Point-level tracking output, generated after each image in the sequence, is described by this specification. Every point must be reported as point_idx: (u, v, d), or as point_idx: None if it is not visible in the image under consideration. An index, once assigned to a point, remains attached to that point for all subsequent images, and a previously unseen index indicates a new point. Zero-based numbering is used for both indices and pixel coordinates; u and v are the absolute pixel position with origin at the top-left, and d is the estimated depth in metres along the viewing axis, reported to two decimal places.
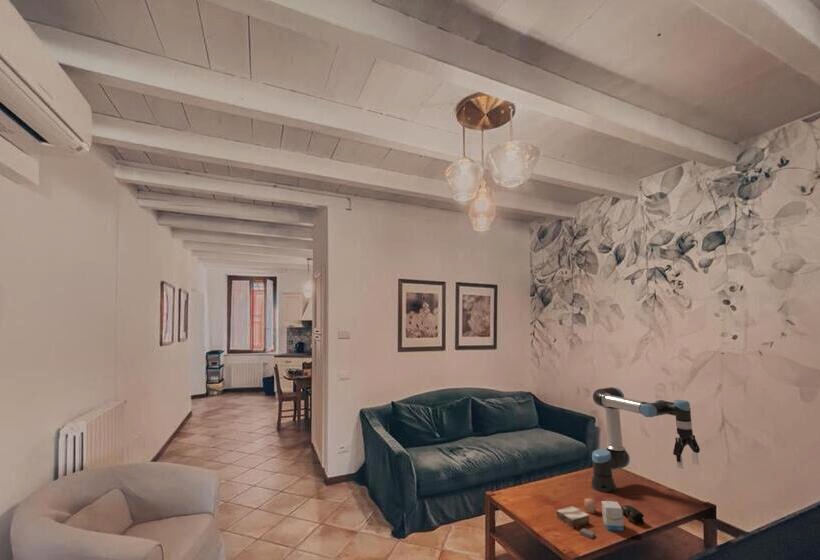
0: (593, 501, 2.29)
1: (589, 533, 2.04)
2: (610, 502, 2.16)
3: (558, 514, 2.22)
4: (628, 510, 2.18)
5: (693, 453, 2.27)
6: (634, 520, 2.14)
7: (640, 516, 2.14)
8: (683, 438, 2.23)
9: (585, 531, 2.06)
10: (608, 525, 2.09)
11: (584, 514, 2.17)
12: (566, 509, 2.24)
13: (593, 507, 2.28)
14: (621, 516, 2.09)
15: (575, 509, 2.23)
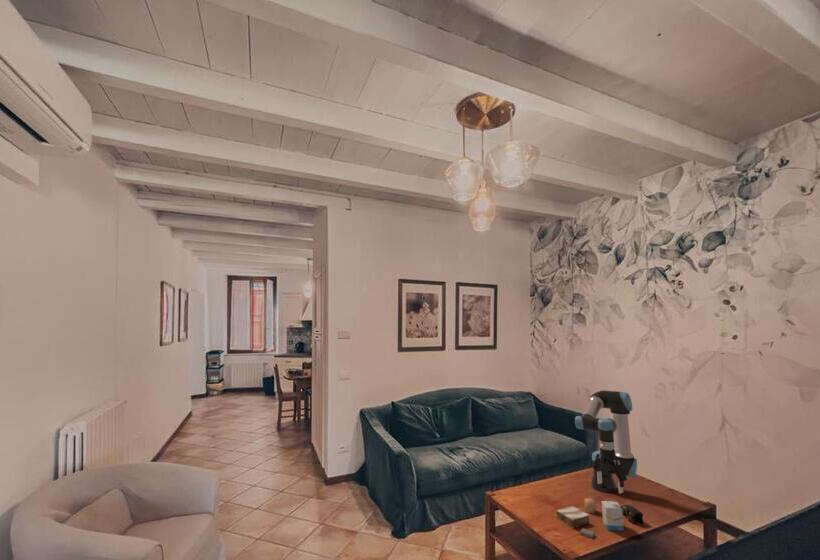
0: (593, 501, 2.29)
1: (589, 533, 2.04)
2: (610, 502, 2.16)
3: (558, 514, 2.22)
4: (627, 509, 2.19)
5: None
6: (633, 519, 2.15)
7: (639, 516, 2.15)
8: (601, 456, 2.19)
9: (585, 531, 2.05)
10: (608, 525, 2.09)
11: (584, 514, 2.17)
12: (566, 509, 2.24)
13: (593, 507, 2.28)
14: (621, 516, 2.09)
15: (575, 509, 2.23)
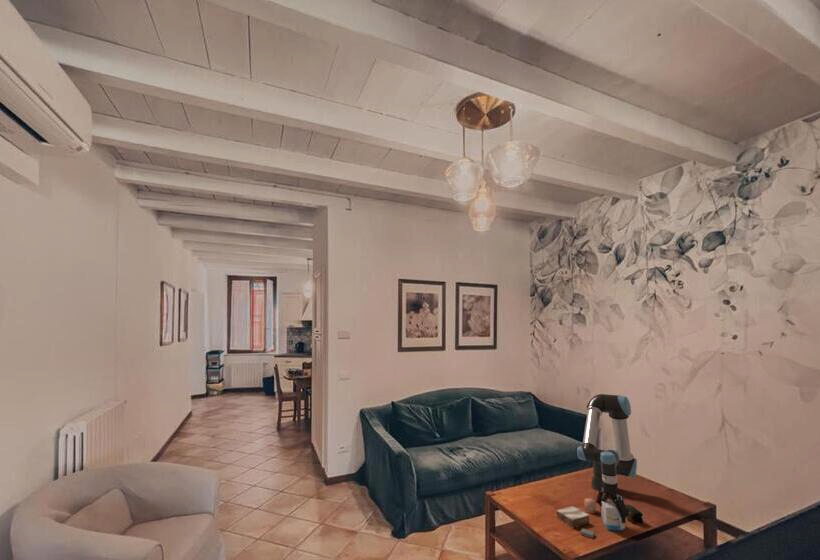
0: (593, 501, 2.29)
1: (590, 533, 2.04)
2: (610, 502, 2.16)
3: (558, 514, 2.22)
4: (627, 509, 2.19)
5: None
6: (633, 519, 2.15)
7: (639, 515, 2.15)
8: (604, 489, 2.17)
9: (585, 531, 2.05)
10: (608, 525, 2.09)
11: (584, 514, 2.17)
12: (566, 509, 2.24)
13: (593, 507, 2.28)
14: None
15: (575, 509, 2.23)
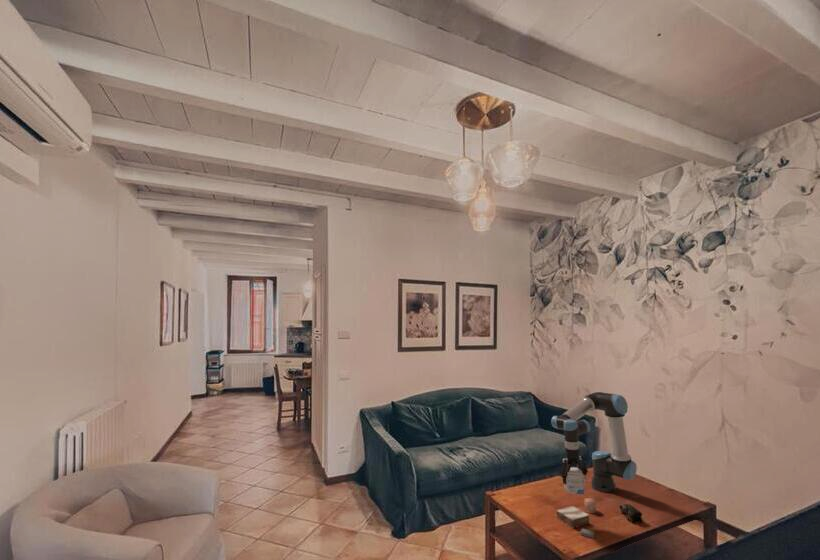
0: (593, 501, 2.29)
1: (590, 533, 2.04)
2: None
3: (558, 514, 2.22)
4: (627, 509, 2.20)
5: None
6: (632, 519, 2.15)
7: (638, 515, 2.15)
8: (569, 459, 2.20)
9: (585, 531, 2.05)
10: (583, 489, 2.16)
11: (584, 514, 2.17)
12: (566, 509, 2.24)
13: (593, 507, 2.28)
14: None
15: (575, 509, 2.23)
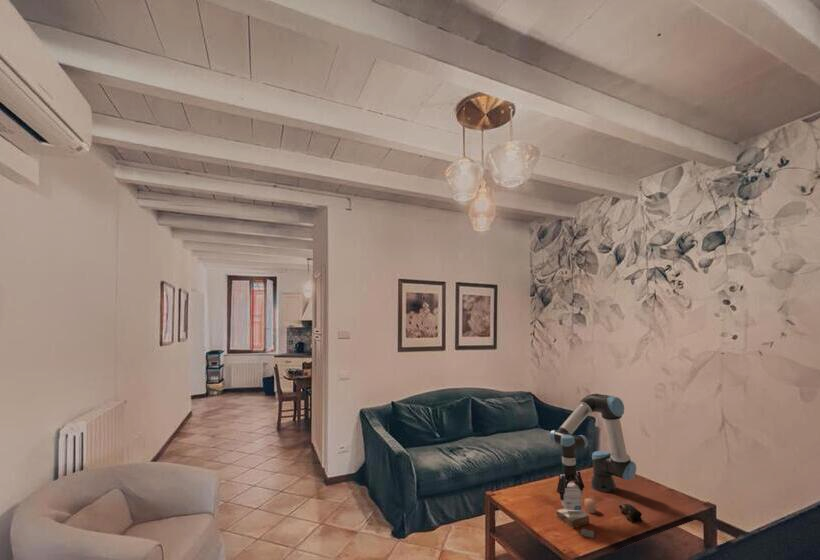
0: (593, 501, 2.29)
1: (590, 533, 2.04)
2: None
3: (558, 514, 2.22)
4: (626, 508, 2.20)
5: None
6: (632, 518, 2.16)
7: (638, 515, 2.16)
8: (566, 475, 2.20)
9: (585, 531, 2.05)
10: (580, 505, 2.16)
11: (584, 514, 2.17)
12: None
13: (593, 507, 2.28)
14: None
15: None
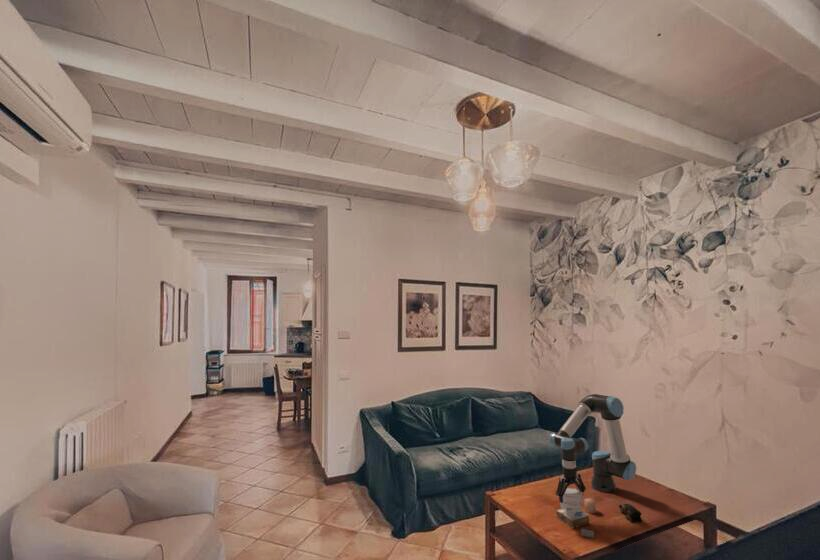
0: (593, 501, 2.29)
1: (590, 533, 2.04)
2: (566, 490, 2.22)
3: (558, 514, 2.22)
4: (626, 508, 2.21)
5: (579, 492, 2.24)
6: (631, 518, 2.16)
7: (638, 514, 2.16)
8: (567, 478, 2.20)
9: (585, 531, 2.05)
10: None
11: (584, 514, 2.17)
12: None
13: (593, 507, 2.28)
14: None
15: None
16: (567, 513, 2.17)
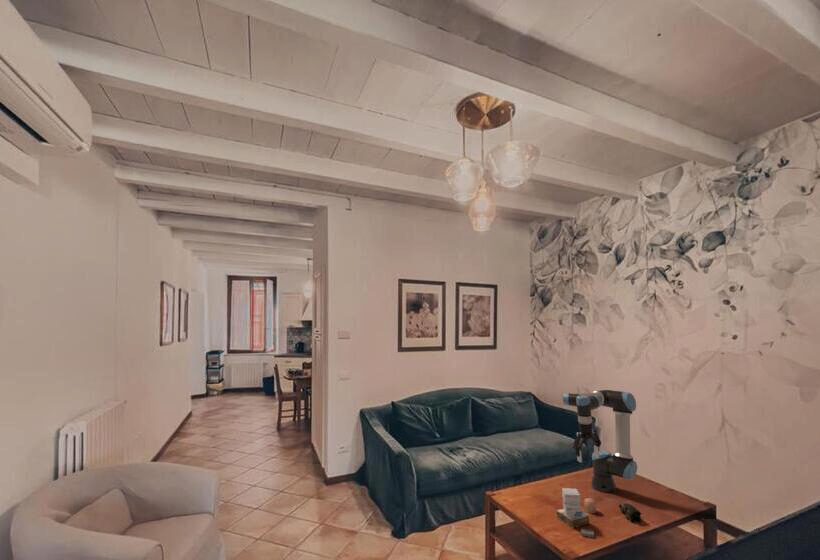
0: (593, 501, 2.29)
1: (590, 533, 2.04)
2: (566, 490, 2.22)
3: (558, 514, 2.22)
4: (626, 508, 2.21)
5: (595, 447, 2.31)
6: (631, 518, 2.17)
7: (637, 514, 2.16)
8: (583, 433, 2.27)
9: (585, 531, 2.05)
10: None
11: (584, 514, 2.17)
12: None
13: (593, 507, 2.28)
14: None
15: None
16: (567, 513, 2.17)
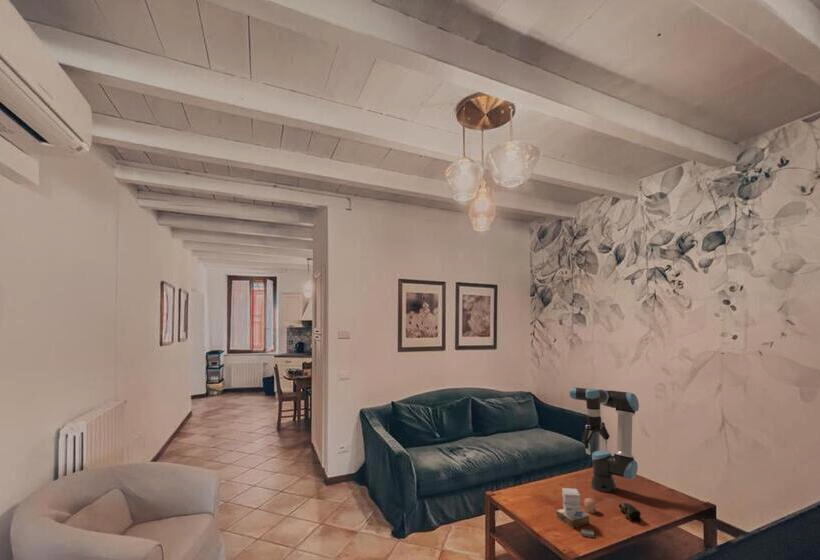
0: (593, 501, 2.29)
1: (590, 533, 2.04)
2: (566, 490, 2.22)
3: (558, 514, 2.22)
4: (625, 507, 2.21)
5: (603, 440, 2.34)
6: (631, 517, 2.17)
7: (637, 514, 2.17)
8: (592, 425, 2.30)
9: (585, 532, 2.05)
10: None
11: (584, 514, 2.17)
12: None
13: (593, 507, 2.28)
14: None
15: None
16: (567, 513, 2.17)
